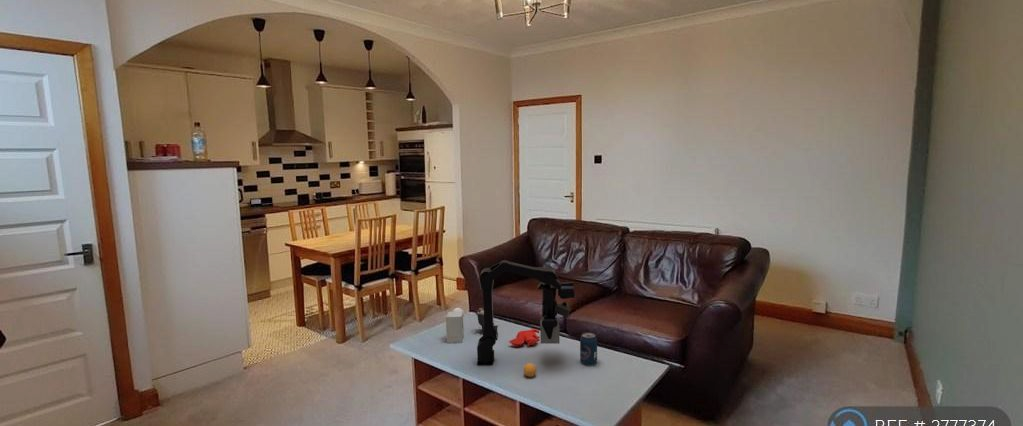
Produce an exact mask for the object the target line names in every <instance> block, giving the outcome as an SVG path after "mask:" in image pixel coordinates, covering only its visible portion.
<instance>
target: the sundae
mask: <svg viewBox="0 0 1023 426" xmlns="http://www.w3.org/2000/svg"><path fill="white" fill-rule="evenodd" d="M475 315H477V322H478V324H479V326H481V330H479V331H478V332H477V333H478V334H479V335H483V330H484V304H483V305H482V306H478V310H477V311H475Z"/></svg>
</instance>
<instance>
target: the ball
mask: <svg viewBox="0 0 1023 426" xmlns="http://www.w3.org/2000/svg"><path fill="white" fill-rule="evenodd" d="M522 370H523V374H524V375H525V376H526V377H529V378H530V377H533V376H534V375H536V372H537V367H536V365H535V364H534V363H530V362H529V363H526V364H524V366H523V369H522Z"/></svg>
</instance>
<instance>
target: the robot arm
mask: <svg viewBox="0 0 1023 426" xmlns="http://www.w3.org/2000/svg"><path fill="white" fill-rule="evenodd" d="M505 273H511V274H515V275H519V276H524V277H529V278H532V279H535V280H537V281H538V282H540V283H539V284H537V290H541V293H542V294H541V300H542V301H541V303H542V304H541V315H542V318H541V320H542V326H543V328H544V330H545V332H546V334H547V337H548V339H551V337H552V333H553V328H554V327H556V326H558V324H557V320H558V318H557V316H558V315H560V316H563V317H564V318H568V317H569V315H570V312H571V308H570V306H569V305H568V303H567V302H566V301H562V302H561V303H560V302H559V303H558V302H557V301H558V300H557V297H559V299H562V300H569V299H570V300H571V299H573V300H574V299H575V295H576V293H575V285H574V281H566V282H563V281H561V282H560V280H559V278H558V276H557V274H556V271H555V269H553V268H552V267H548V266H539V267H538V266H537V267H535V266H530V265H526V264H523V263H522V264H521V263H517V262H513V261H509V260H506V259H504V260H501V261H500V262H498V263H495V264H493V265H492V266H490V267H485V268H483V269H482V270H481V272H480V274H479V284H480V287H481V291H482V298H483V301H482V302H483V305H484V330H483V334H482V335H481V336H480V338H479V339H478V342H477V346H476V348H477V349H476V351H477V352H476V353H477V354H476V357H477V361H476V365H477V366H492V365H493V364H494V362H495V350H494V346H495V345H496V341H498V340H499V339H498V338H499V332H498V328H499V325H495V322H494V303H493V302H494V301H493V298H494V297H493V288H494V281H495V280H496V279H497V278H499V277H500V276H501V275H502V274H505Z"/></svg>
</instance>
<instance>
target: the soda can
mask: <svg viewBox="0 0 1023 426" xmlns="http://www.w3.org/2000/svg"><path fill="white" fill-rule="evenodd" d="M596 336H597V335H596V334H595V333H593V332H582V334H581V336H580V339H579V353H580V354H579V359H580V362H581V364H582V365H583V366H589V367H592V366H595V365H596V363H597V362H598V338H597V337H596Z"/></svg>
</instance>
